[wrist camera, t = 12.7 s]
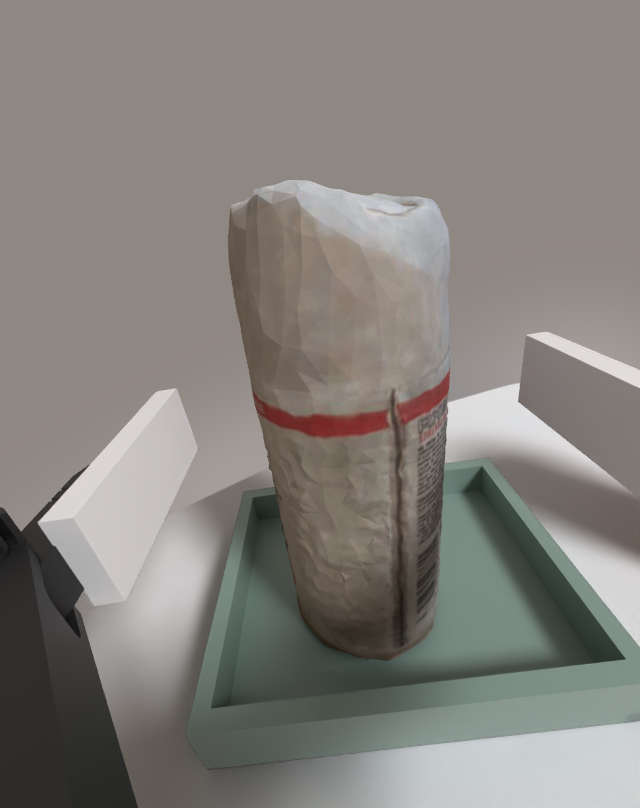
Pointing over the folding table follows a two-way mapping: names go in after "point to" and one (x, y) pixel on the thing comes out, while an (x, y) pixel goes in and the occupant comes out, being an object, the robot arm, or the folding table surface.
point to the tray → (426, 662)
